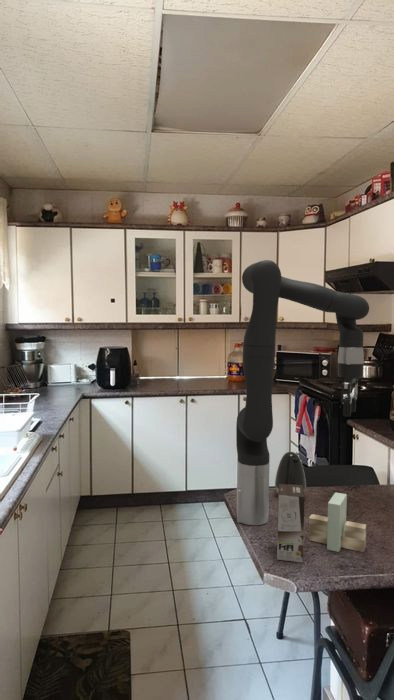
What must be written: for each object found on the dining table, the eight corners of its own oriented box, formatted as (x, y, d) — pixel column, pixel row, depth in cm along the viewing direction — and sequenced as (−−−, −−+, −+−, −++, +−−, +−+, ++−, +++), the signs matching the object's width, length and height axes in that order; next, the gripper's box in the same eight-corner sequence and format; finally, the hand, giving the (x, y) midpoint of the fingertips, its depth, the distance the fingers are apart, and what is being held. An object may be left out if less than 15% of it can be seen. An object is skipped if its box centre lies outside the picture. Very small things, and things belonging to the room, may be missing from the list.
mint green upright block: (338, 552, 117) (340, 505, 116) (326, 549, 118) (328, 503, 118) (345, 538, 125) (346, 494, 124) (334, 535, 126) (335, 492, 126)
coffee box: (303, 563, 111) (305, 496, 110) (276, 560, 112) (277, 494, 112) (302, 546, 120) (304, 484, 119) (277, 543, 121) (278, 482, 121)
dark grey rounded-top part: (283, 503, 149) (284, 457, 149) (269, 492, 159) (270, 449, 159) (311, 500, 152) (312, 455, 152) (296, 490, 162) (297, 447, 162)
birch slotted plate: (308, 540, 123) (309, 517, 123) (311, 535, 126) (311, 513, 126) (363, 552, 117) (364, 528, 117) (365, 547, 120) (366, 524, 119)
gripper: (342, 360, 151) (341, 409, 152) (333, 362, 139) (332, 416, 139) (366, 361, 148) (365, 411, 148) (359, 363, 135) (358, 419, 136)
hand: (349, 414), depth 144 cm, fingers open, 8 cm apart
